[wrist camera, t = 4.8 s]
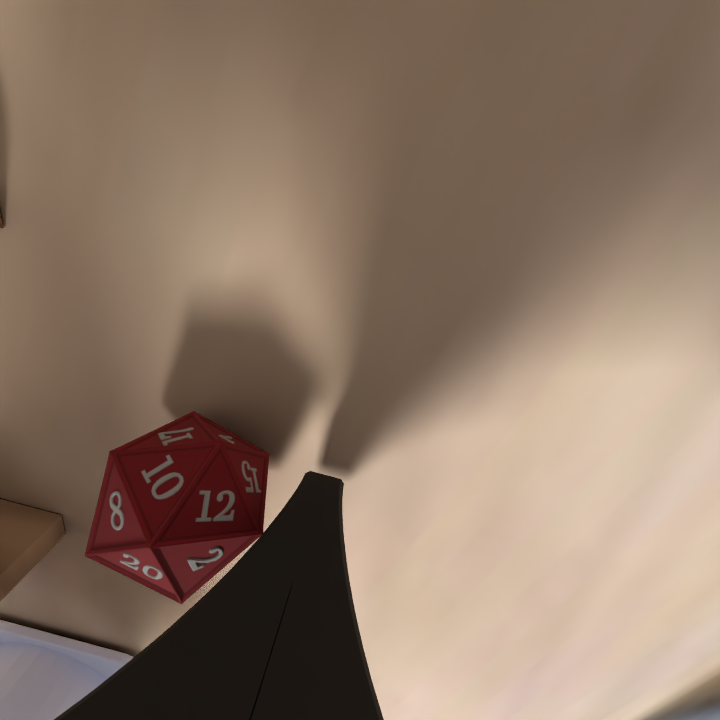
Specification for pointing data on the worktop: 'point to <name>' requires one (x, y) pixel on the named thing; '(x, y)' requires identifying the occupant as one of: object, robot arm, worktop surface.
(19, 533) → the tray frame
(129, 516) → the dice
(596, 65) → the worktop surface
